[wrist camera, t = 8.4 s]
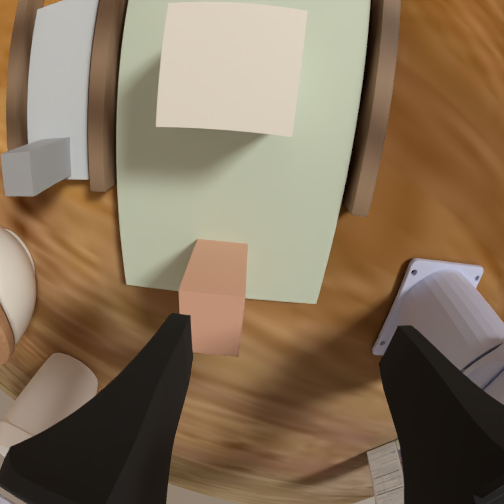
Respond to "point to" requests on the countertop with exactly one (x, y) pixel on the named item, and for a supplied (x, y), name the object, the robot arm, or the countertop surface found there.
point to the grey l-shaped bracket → (55, 100)
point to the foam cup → (47, 399)
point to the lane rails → (106, 94)
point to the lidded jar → (14, 291)
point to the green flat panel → (236, 178)
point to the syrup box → (387, 473)
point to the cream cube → (231, 67)
